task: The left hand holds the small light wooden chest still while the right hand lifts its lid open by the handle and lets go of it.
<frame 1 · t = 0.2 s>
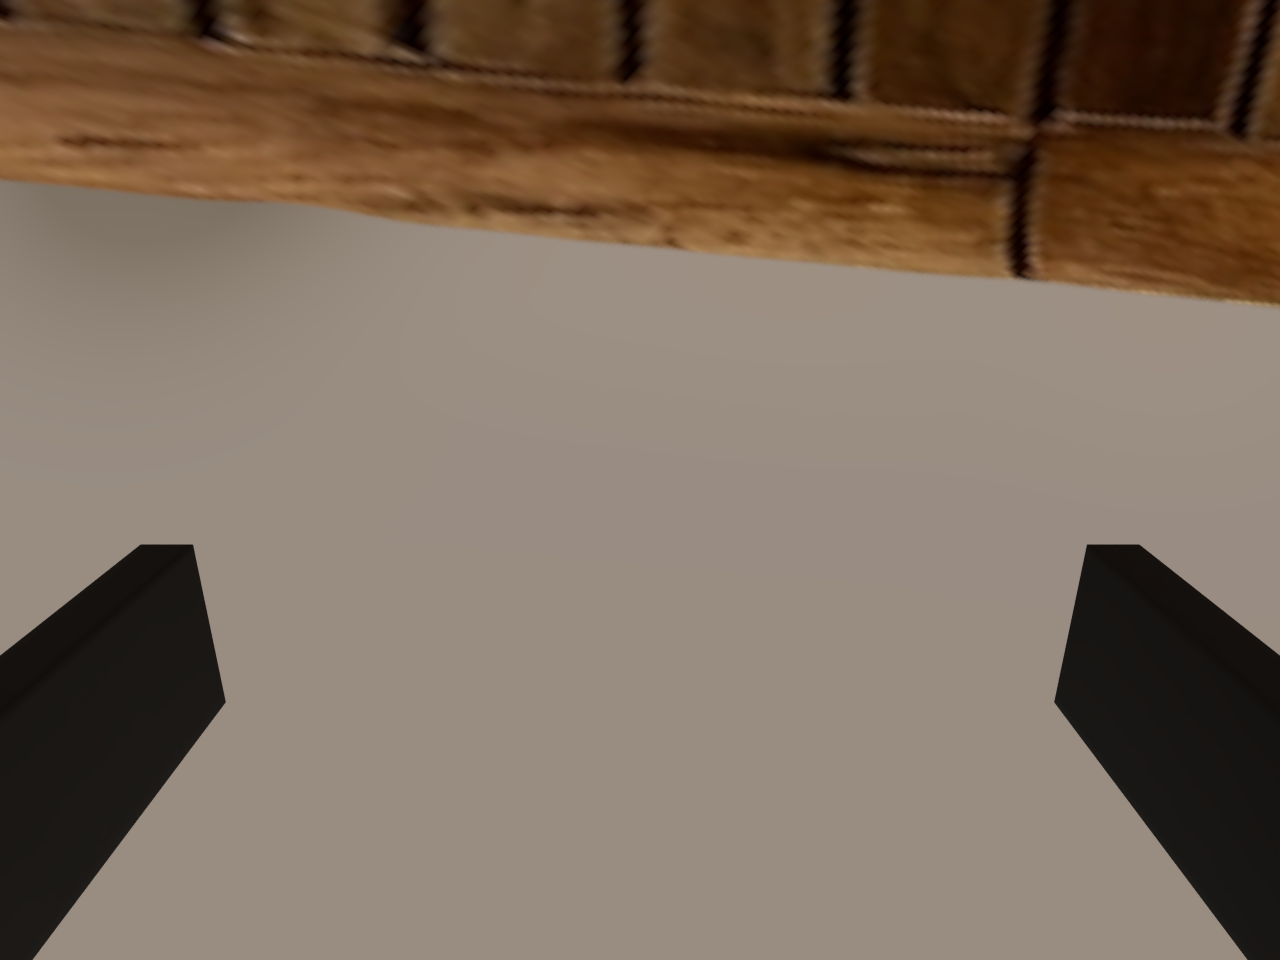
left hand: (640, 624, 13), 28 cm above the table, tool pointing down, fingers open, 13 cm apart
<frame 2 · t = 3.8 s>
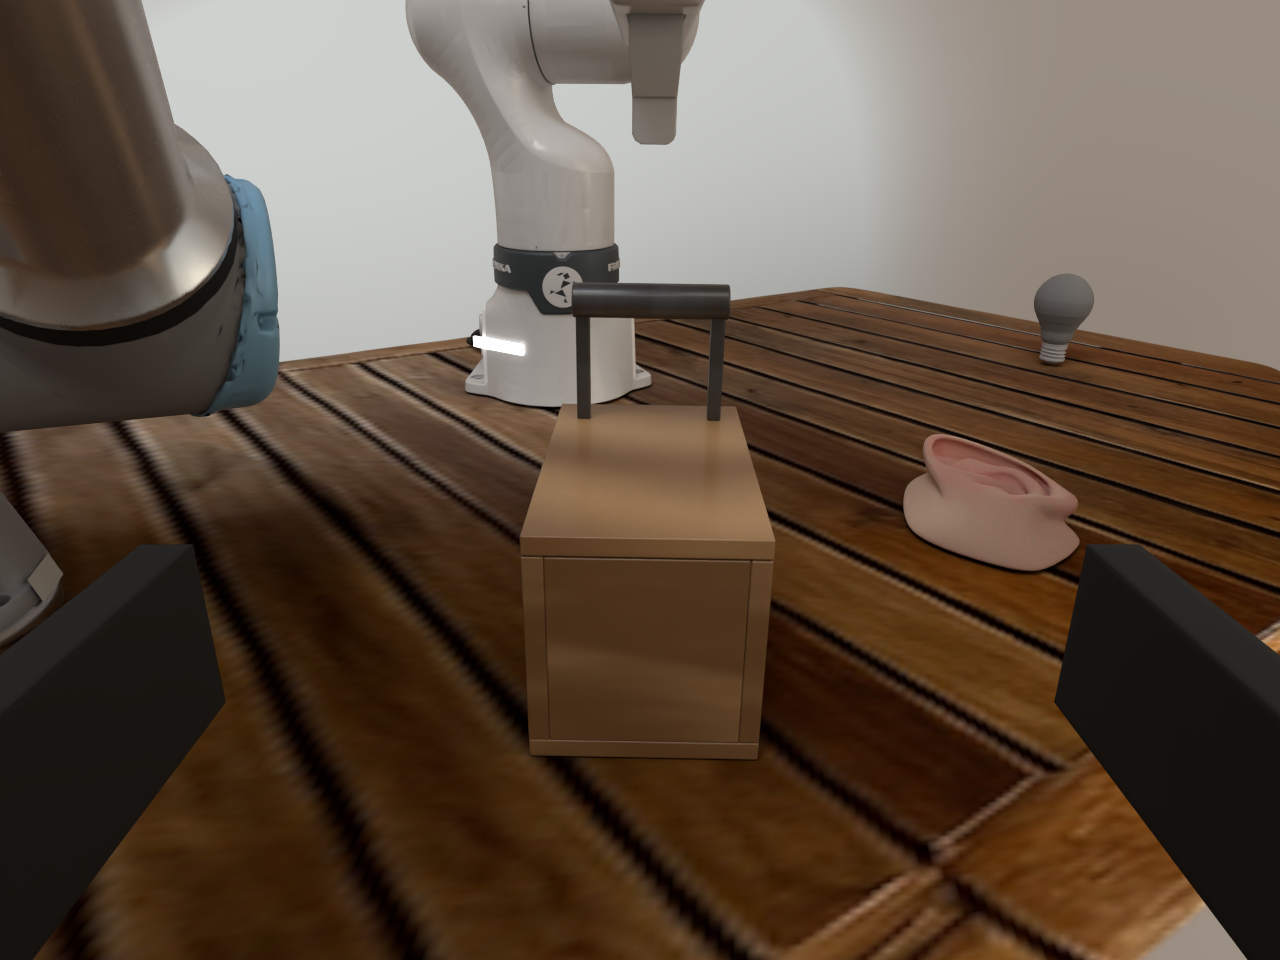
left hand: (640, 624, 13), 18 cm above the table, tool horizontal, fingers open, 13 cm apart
lid: (649, 394, 39), point 14 cm above the table, hinge at 0.0°
chest: (644, 652, 44), on the table
anatomical model: (984, 524, 58), on the table
light bulb: (1050, 364, 98), on the table
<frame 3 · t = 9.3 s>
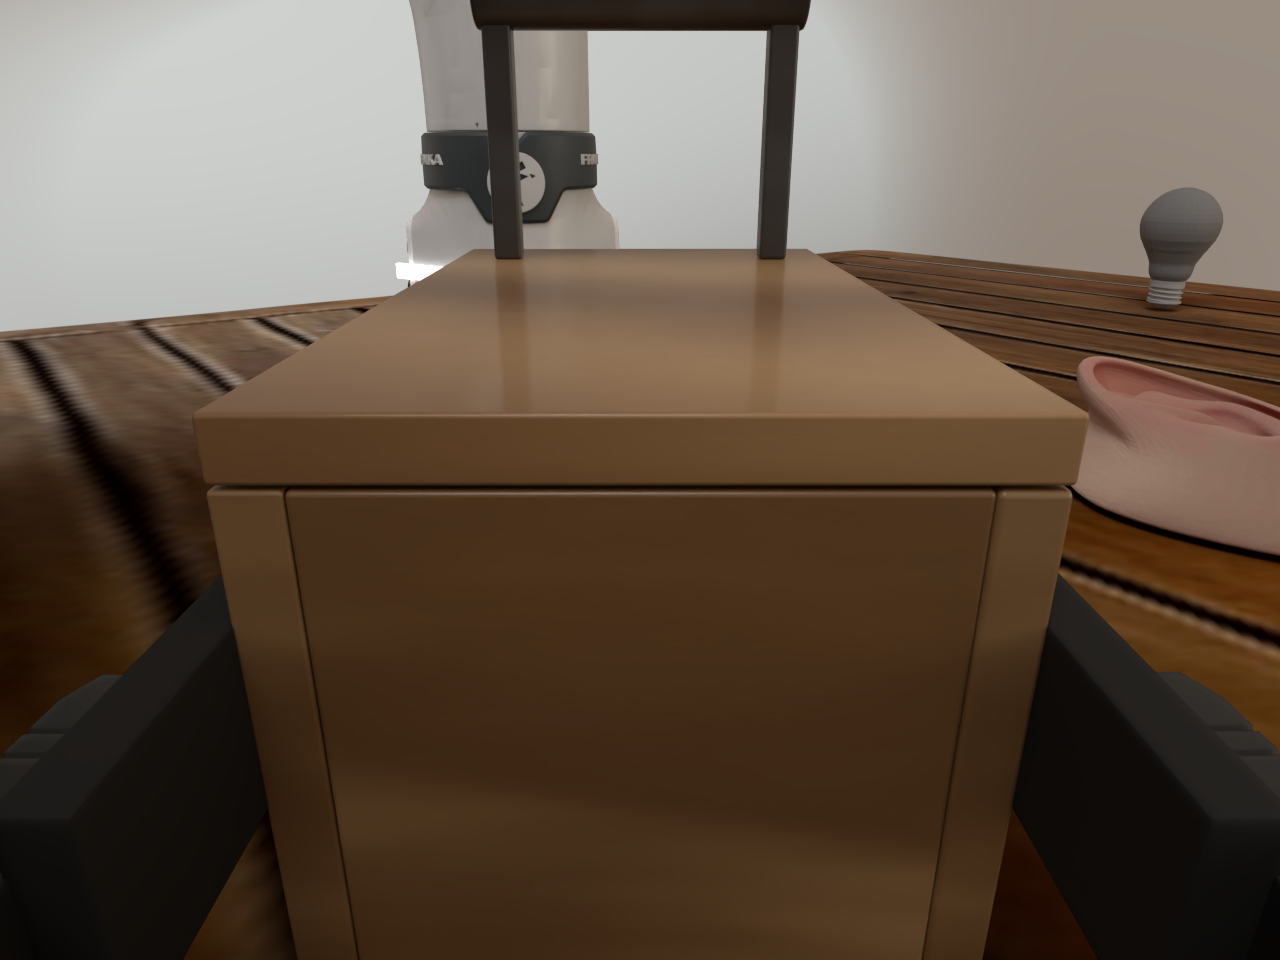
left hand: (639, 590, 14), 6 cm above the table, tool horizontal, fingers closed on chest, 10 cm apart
lid: (640, 123, 16), point 14 cm above the table, hinge at 0.0°
chest: (640, 742, 20), on the table, touching left hand
anatomical model: (1200, 491, 35), on the table
light bulb: (1161, 309, 75), on the table
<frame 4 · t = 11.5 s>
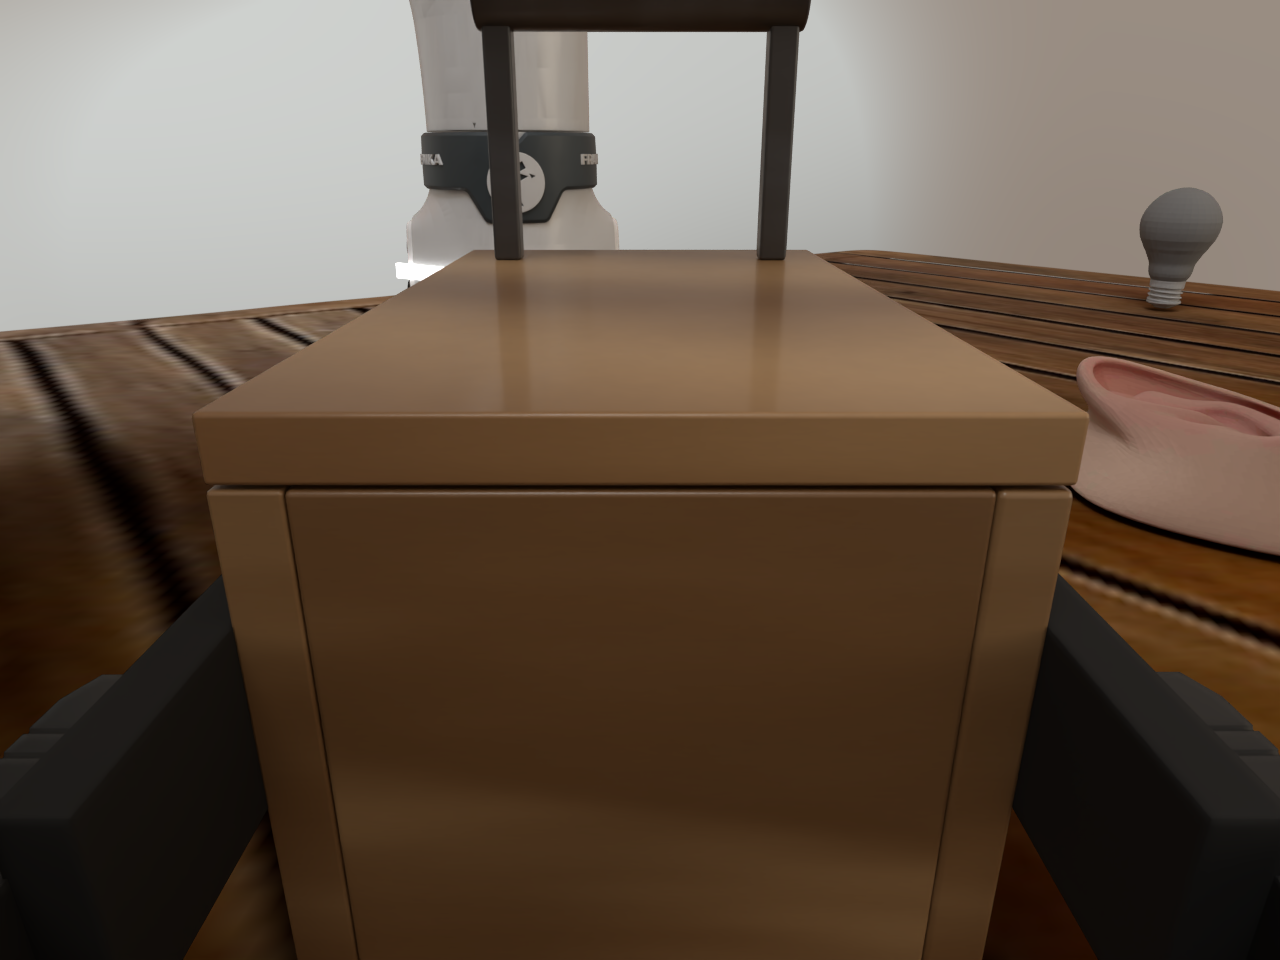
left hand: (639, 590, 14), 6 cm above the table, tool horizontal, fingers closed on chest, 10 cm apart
lid: (640, 123, 16), point 14 cm above the table, hinge at -0.1°, touching right hand
chest: (640, 742, 20), on the table, touching left hand
anatomical model: (1200, 491, 35), on the table
light bulb: (1161, 309, 75), on the table
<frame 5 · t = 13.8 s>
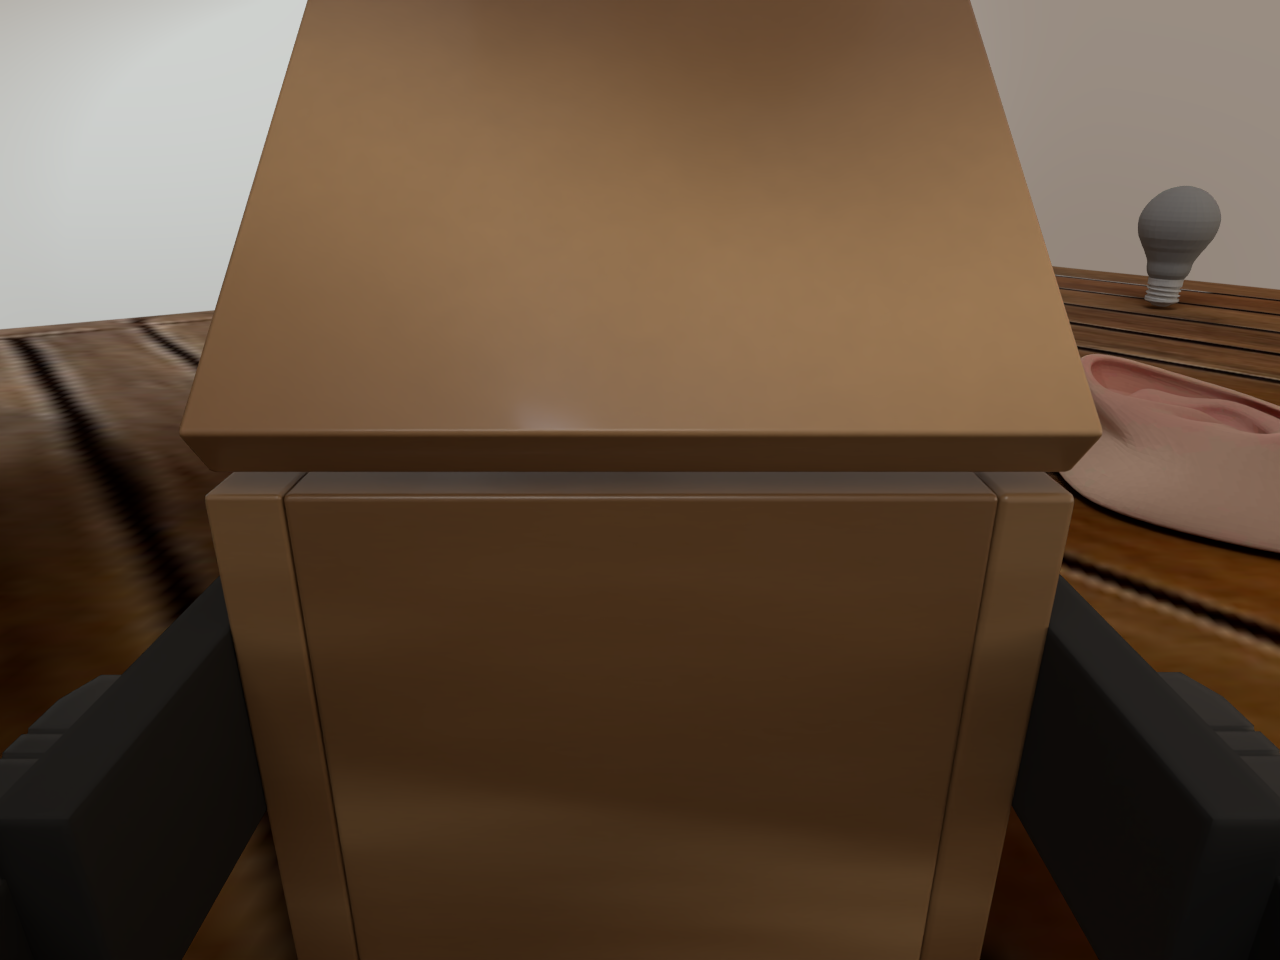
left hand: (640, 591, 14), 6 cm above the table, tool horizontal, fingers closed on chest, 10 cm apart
chest: (637, 738, 20), on the table, touching left hand
anatomical model: (1197, 488, 35), on the table
light bulb: (1159, 307, 76), on the table
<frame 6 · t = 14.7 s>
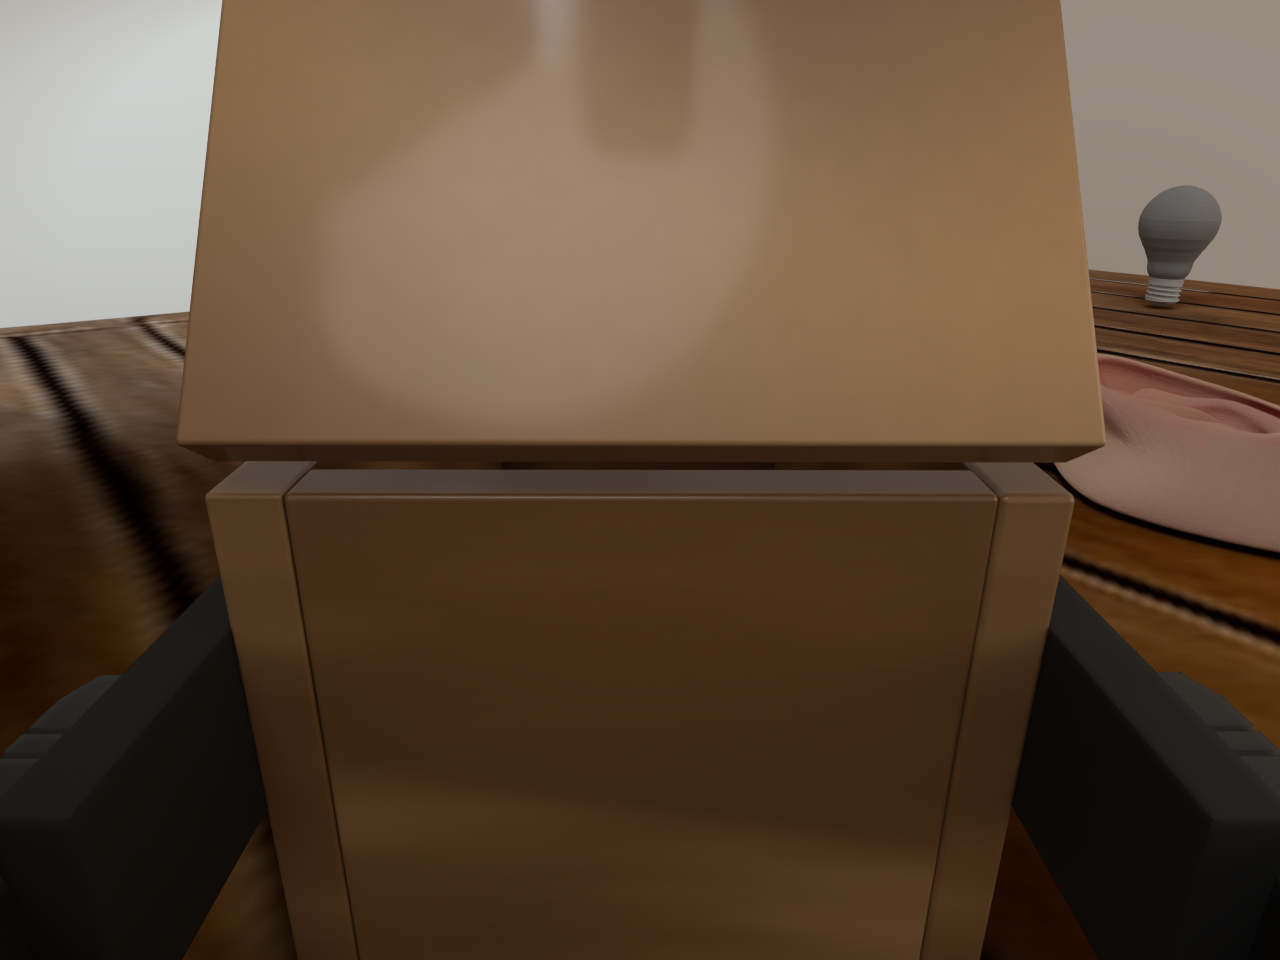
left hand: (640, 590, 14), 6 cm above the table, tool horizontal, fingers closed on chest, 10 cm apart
chest: (638, 738, 20), on the table, touching left hand
anatomical model: (1197, 488, 35), on the table
light bulb: (1160, 307, 76), on the table
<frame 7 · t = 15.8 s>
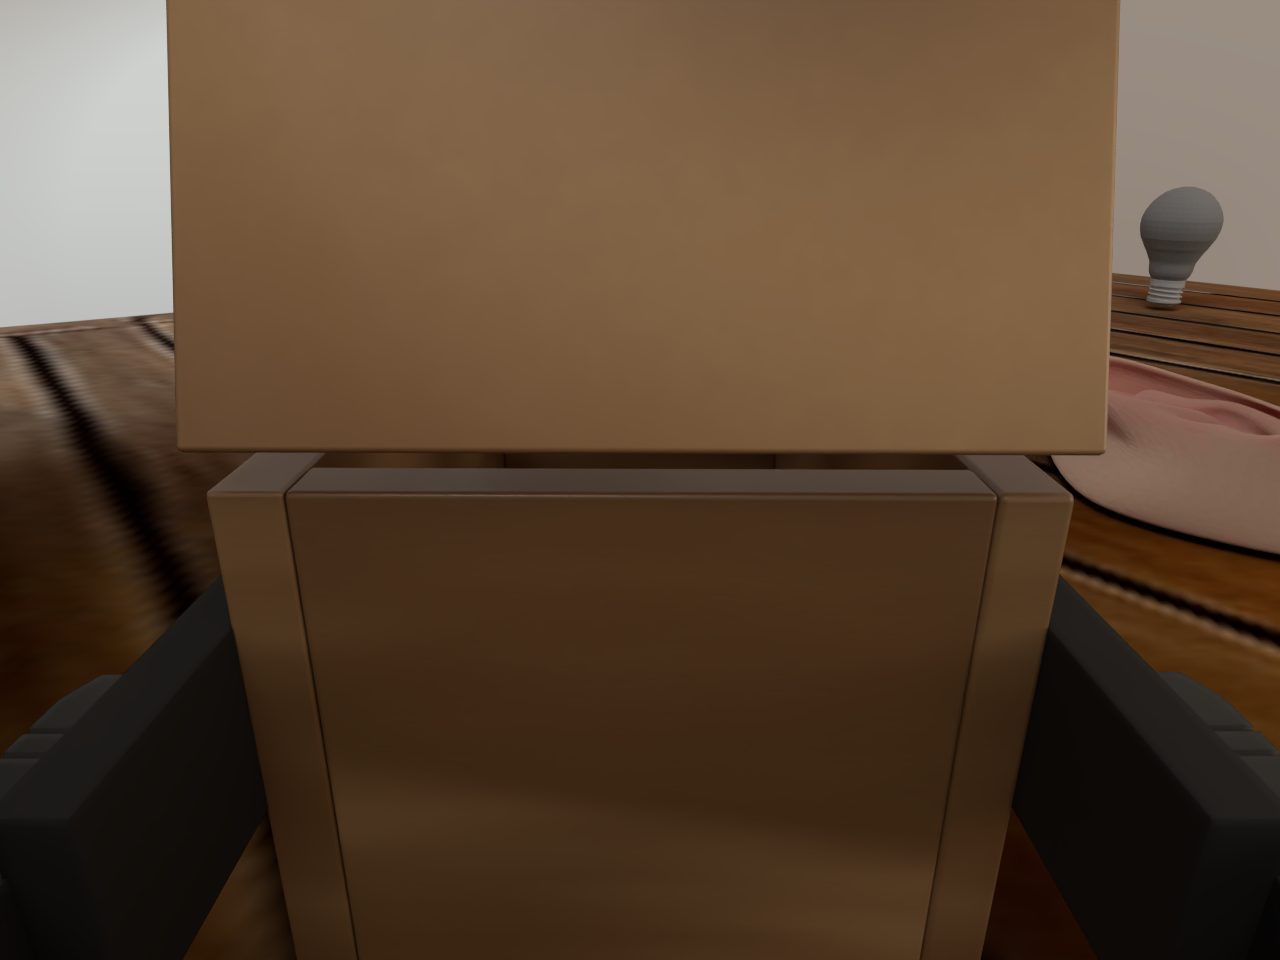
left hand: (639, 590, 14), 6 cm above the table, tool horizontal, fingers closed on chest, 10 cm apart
chest: (639, 740, 20), on the table, touching left hand
anatomical model: (1199, 490, 35), on the table
light bulb: (1161, 308, 75), on the table
when the left hand's fingers open (6 cm above the table, at t = 19.8 s): chest stays where it is, on the table.
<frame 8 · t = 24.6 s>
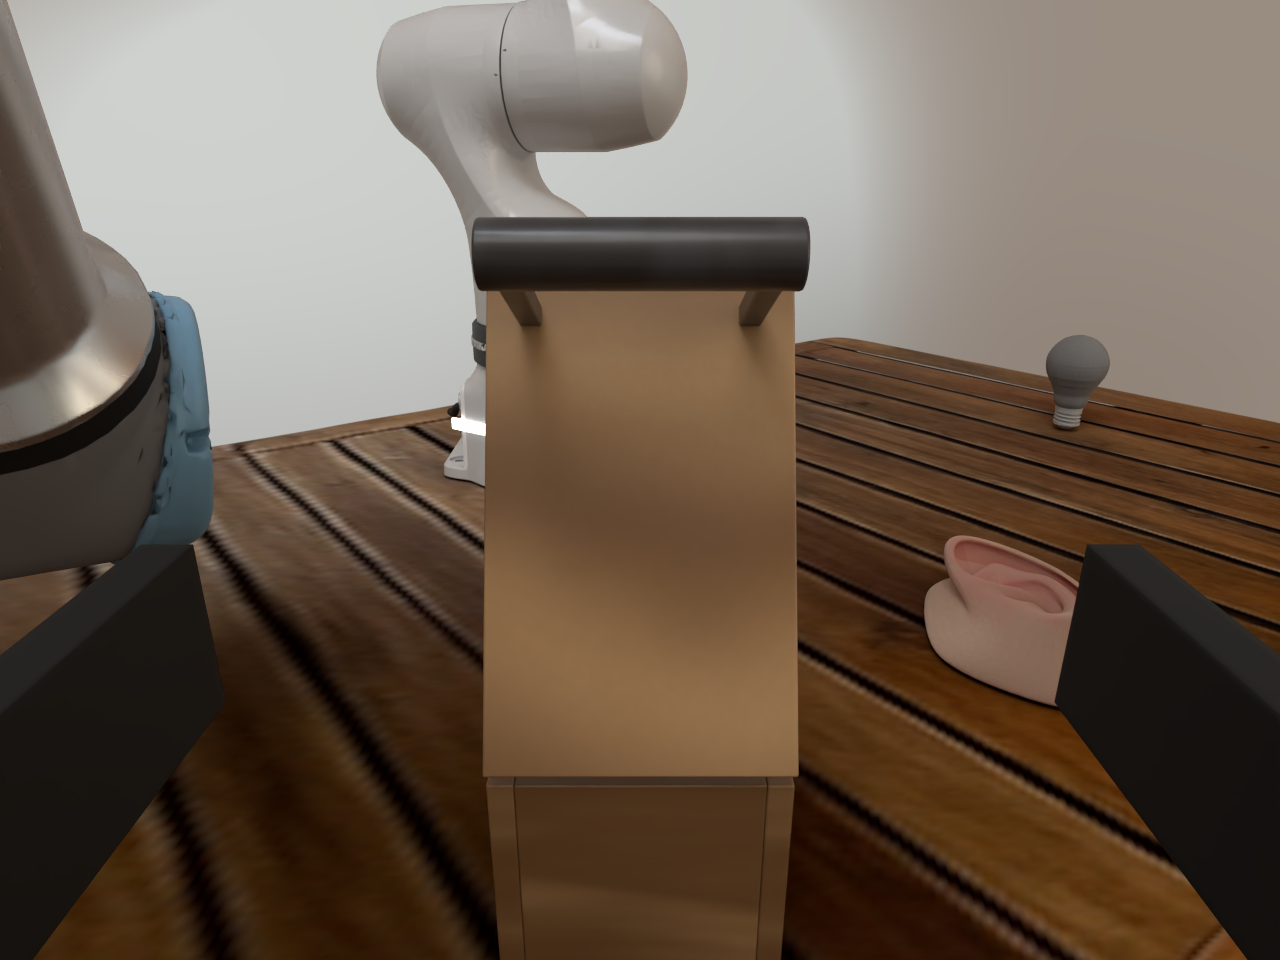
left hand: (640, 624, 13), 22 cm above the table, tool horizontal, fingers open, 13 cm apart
lid: (640, 504, 24), point 19 cm above the table, hinge at 66.3°
chest: (640, 837, 38), on the table
anatomical model: (1016, 642, 53), on the table
light bulb: (1065, 429, 93), on the table
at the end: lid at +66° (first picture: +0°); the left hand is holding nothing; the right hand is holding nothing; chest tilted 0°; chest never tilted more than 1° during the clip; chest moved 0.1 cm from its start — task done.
